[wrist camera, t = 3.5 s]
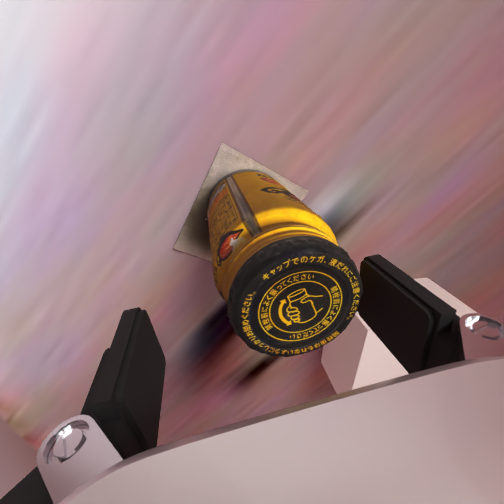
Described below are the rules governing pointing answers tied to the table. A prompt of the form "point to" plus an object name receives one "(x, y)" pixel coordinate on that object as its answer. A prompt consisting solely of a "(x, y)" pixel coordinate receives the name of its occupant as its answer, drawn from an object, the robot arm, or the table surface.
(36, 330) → the table surface
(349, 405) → the robot arm
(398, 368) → the cream block
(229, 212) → the condiment
